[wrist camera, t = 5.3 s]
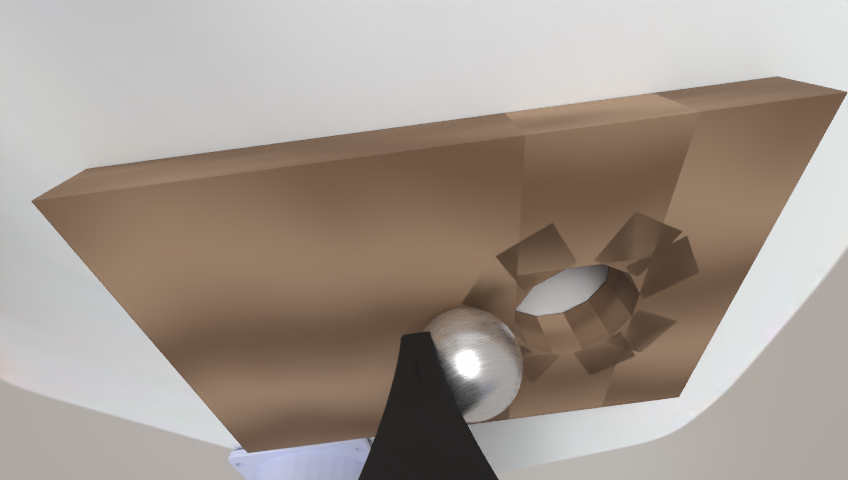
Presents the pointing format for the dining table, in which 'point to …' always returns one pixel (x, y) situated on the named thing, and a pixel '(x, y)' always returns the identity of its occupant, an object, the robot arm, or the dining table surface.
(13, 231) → the dining table surface
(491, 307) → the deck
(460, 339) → the ball
